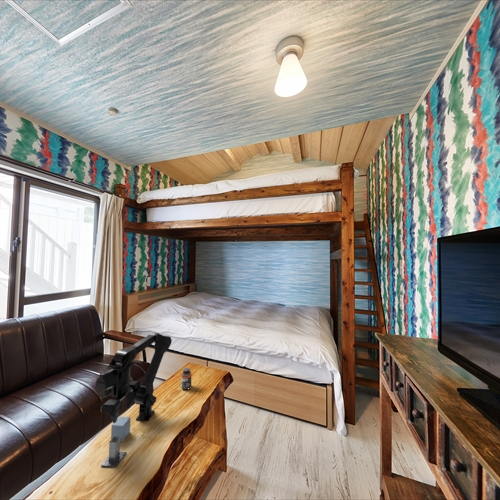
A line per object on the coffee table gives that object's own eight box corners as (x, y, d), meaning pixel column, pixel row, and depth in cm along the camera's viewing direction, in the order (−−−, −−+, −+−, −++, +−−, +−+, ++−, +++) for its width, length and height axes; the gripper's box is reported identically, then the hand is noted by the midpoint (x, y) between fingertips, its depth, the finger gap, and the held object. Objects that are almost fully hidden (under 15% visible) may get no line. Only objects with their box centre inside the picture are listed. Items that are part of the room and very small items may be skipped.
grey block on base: (119, 431, 96) (119, 416, 97) (129, 432, 96) (130, 417, 97) (110, 441, 91) (111, 425, 92) (122, 441, 91) (123, 425, 91)
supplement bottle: (187, 384, 135) (188, 365, 136) (193, 387, 131) (193, 368, 132) (179, 388, 130) (179, 369, 131) (184, 391, 126) (185, 372, 127)
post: (112, 452, 86) (112, 433, 86) (126, 453, 85) (127, 433, 86) (100, 466, 80) (101, 445, 80) (116, 467, 79) (116, 446, 80)
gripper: (119, 368, 105) (118, 400, 104) (89, 391, 87) (87, 430, 86) (141, 369, 105) (140, 401, 104) (114, 391, 86) (113, 431, 85)
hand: (121, 414), depth 94 cm, fingers open, 9 cm apart
